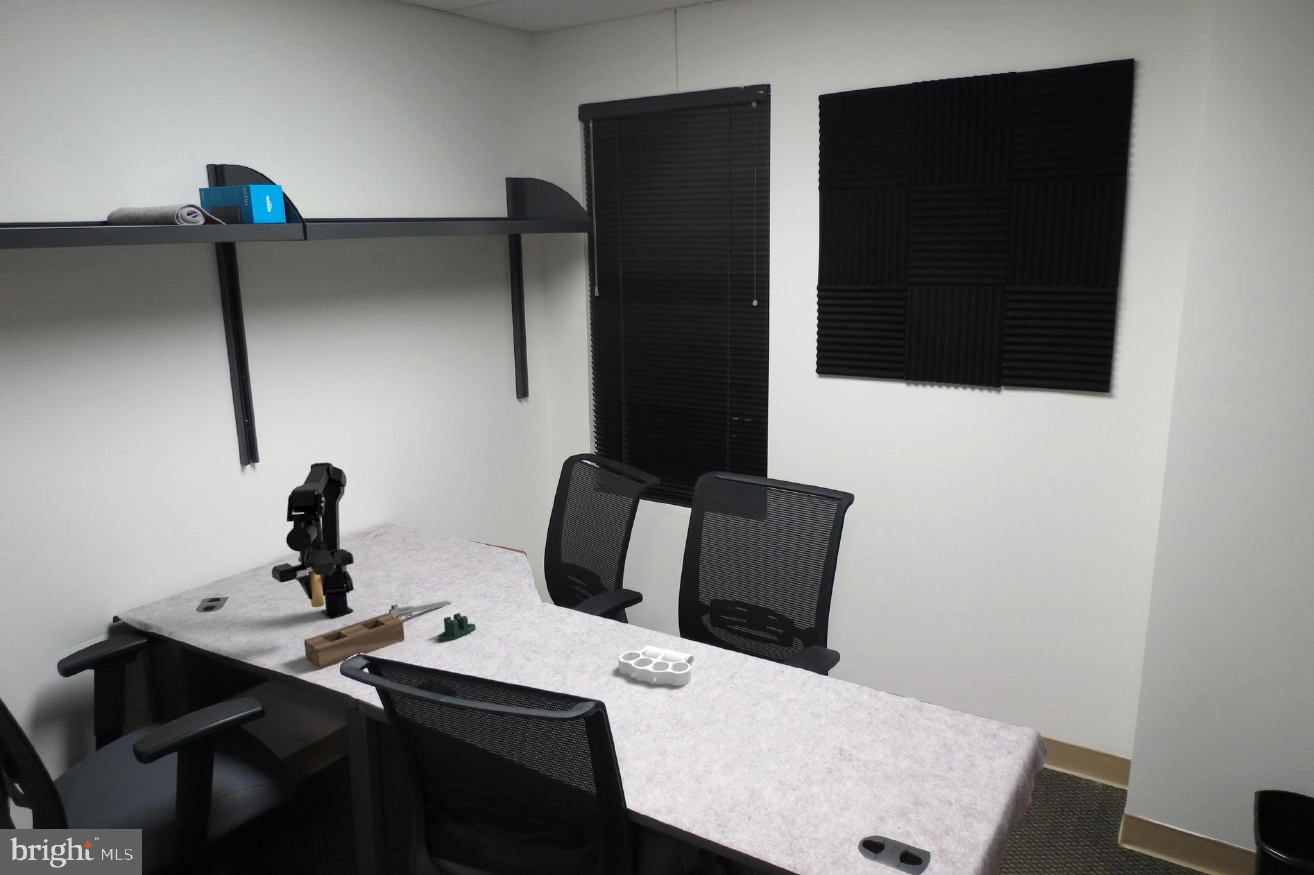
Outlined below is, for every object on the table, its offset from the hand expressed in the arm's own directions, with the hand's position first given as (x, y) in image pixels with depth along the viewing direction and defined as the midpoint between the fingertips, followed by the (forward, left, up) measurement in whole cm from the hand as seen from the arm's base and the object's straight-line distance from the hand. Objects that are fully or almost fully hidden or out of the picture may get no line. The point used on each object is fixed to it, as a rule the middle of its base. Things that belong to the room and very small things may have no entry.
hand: (316, 597), depth 226 cm
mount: (+22, +26, -12) cm, 36 cm away
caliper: (+4, +26, -12) cm, 29 cm away
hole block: (+11, +4, -12) cm, 17 cm away
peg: (0, 0, -2) cm, 2 cm away
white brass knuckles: (+74, +48, -13) cm, 89 cm away
